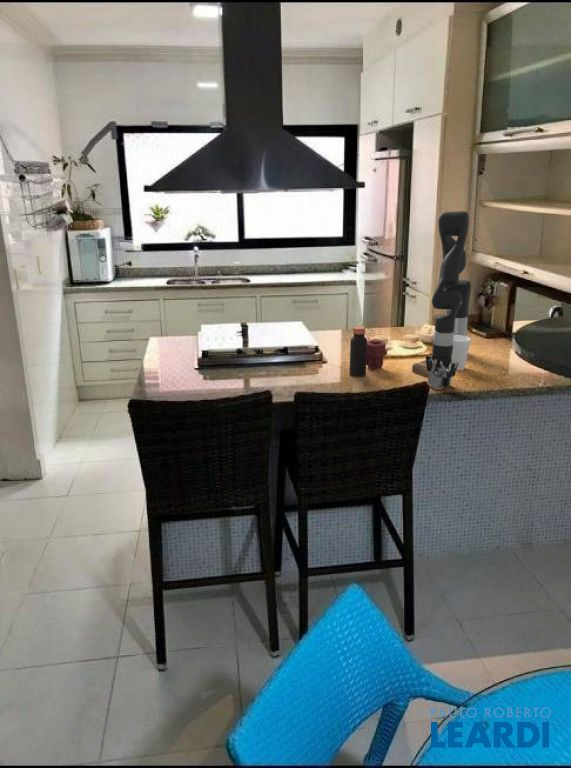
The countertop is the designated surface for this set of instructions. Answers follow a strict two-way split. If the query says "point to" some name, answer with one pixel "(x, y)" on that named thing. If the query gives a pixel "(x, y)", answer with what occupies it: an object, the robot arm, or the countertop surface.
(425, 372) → the stand
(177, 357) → the countertop surface
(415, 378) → the countertop surface
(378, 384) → the countertop surface
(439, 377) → the housing
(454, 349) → the foam cup
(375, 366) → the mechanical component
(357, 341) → the bottle
